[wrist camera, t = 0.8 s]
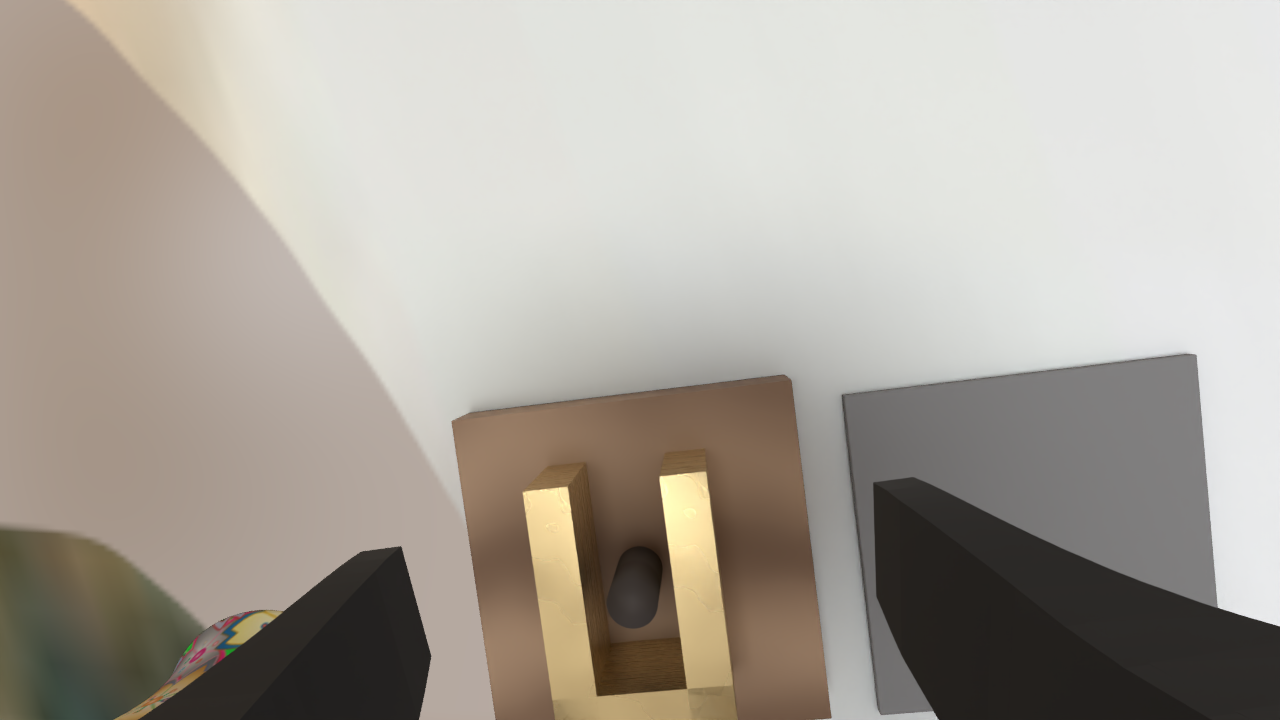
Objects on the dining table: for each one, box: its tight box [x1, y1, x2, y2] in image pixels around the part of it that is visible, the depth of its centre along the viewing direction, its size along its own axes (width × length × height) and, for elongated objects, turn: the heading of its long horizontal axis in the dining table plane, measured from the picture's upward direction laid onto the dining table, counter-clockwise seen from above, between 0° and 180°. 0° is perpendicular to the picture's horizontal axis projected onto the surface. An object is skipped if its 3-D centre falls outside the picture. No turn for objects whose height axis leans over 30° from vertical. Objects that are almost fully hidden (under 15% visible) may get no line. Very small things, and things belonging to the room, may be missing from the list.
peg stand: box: [452, 375, 831, 720], centre depth 24 cm, size 12×12×5 cm
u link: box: [523, 448, 738, 720], centre depth 23 cm, size 8×6×4 cm
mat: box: [842, 354, 1218, 715], centre depth 25 cm, size 12×12×1 cm
